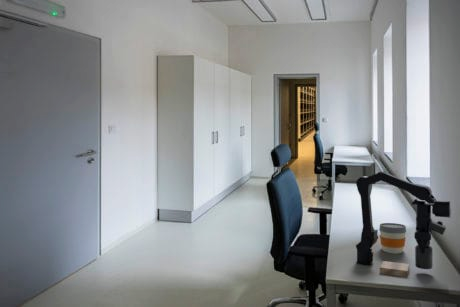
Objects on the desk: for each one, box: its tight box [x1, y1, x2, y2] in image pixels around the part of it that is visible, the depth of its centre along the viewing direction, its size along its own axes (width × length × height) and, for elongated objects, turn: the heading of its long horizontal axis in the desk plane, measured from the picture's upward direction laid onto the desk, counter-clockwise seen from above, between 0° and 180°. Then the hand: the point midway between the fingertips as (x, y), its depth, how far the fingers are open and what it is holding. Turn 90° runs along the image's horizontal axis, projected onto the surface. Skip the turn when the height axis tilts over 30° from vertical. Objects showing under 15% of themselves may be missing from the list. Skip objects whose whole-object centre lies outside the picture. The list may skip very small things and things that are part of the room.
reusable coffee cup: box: [378, 222, 407, 255], centre depth 206 cm, size 13×13×15 cm
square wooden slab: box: [379, 260, 410, 278], centre depth 179 cm, size 11×11×3 cm
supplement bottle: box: [414, 240, 434, 270], centre depth 176 cm, size 7×7×12 cm
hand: (423, 251), depth 176 cm, fingers closed on supplement bottle, 7 cm apart
